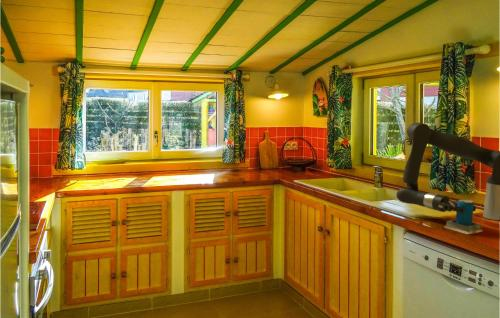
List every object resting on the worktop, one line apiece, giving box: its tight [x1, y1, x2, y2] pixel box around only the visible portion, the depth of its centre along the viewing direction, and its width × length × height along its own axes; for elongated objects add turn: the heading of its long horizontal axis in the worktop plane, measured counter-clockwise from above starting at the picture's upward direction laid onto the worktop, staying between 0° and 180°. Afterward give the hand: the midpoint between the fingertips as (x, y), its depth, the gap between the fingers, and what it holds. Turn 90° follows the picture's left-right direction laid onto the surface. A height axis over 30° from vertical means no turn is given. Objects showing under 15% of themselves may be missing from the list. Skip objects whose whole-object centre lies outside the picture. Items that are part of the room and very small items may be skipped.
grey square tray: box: [444, 219, 484, 235], centre depth 191 cm, size 11×11×3 cm
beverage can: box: [455, 199, 475, 226], centre depth 190 cm, size 6×6×12 cm
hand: (469, 209), depth 188 cm, fingers open, 8 cm apart
